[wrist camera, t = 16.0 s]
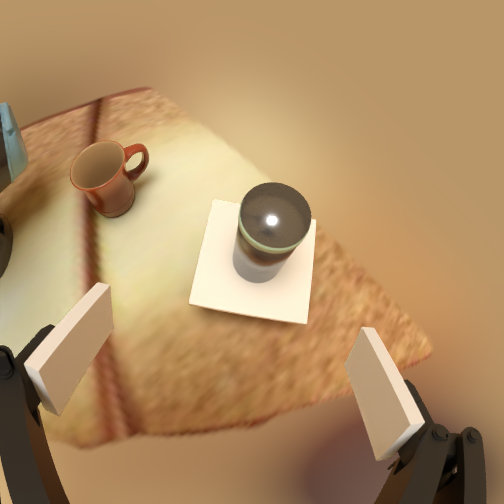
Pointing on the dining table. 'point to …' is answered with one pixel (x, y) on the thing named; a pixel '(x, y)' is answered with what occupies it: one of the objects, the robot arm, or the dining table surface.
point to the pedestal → (244, 292)
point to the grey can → (269, 230)
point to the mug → (108, 175)
